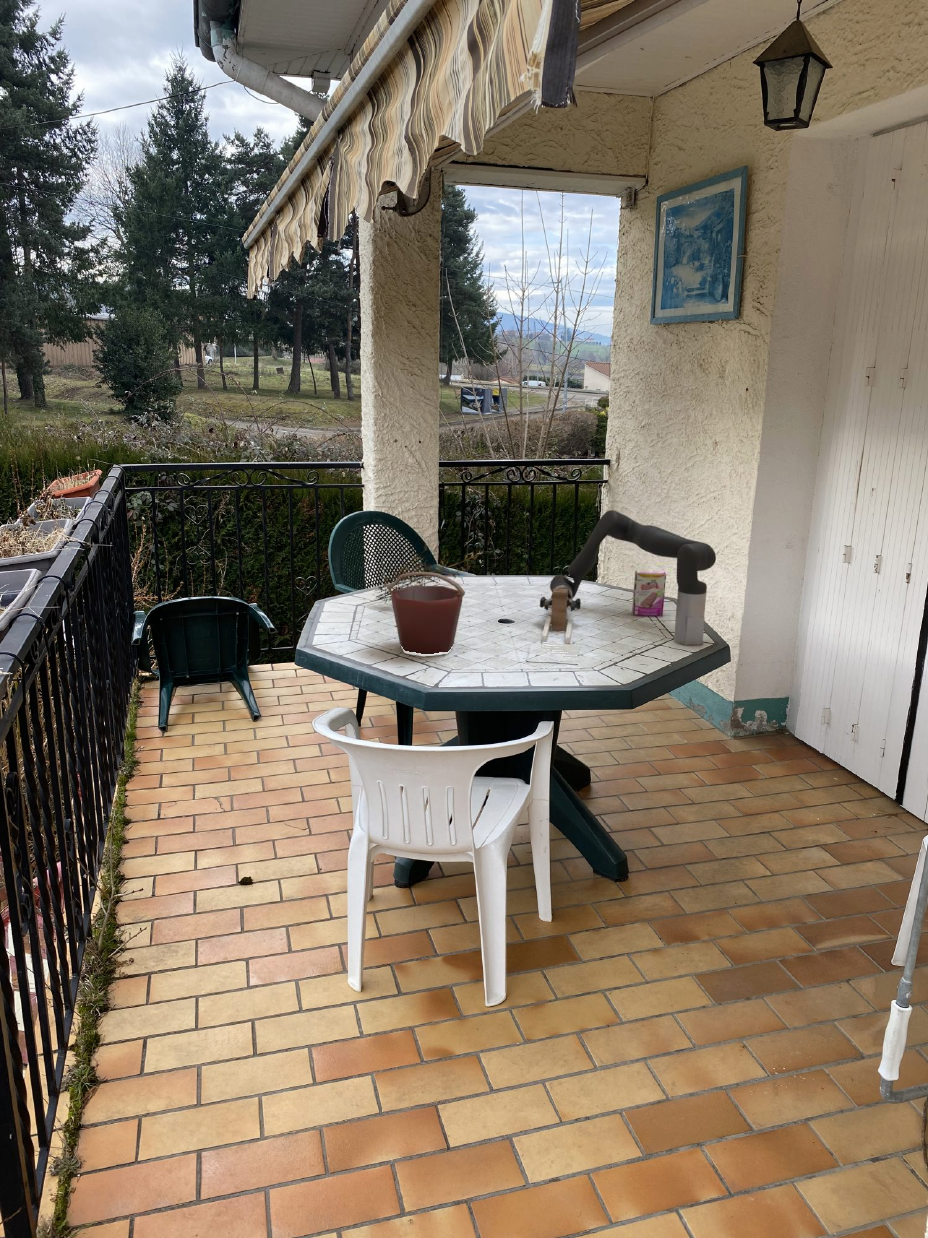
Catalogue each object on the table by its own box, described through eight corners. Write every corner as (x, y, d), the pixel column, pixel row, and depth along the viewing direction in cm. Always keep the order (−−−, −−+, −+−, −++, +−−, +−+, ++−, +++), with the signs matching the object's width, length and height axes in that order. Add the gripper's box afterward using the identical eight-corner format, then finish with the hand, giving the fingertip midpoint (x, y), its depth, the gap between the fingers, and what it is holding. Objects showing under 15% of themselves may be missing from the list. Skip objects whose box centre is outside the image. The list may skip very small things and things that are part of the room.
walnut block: (551, 627, 316) (553, 588, 312) (566, 628, 315) (567, 589, 311) (550, 631, 311) (552, 591, 307) (565, 631, 310) (567, 592, 307)
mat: (531, 643, 296) (531, 642, 296) (580, 646, 294) (580, 645, 294) (526, 661, 277) (526, 660, 277) (578, 664, 275) (578, 663, 274)
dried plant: (347, 567, 325) (457, 522, 310) (378, 558, 354) (480, 517, 340) (378, 645, 326) (489, 603, 312) (406, 630, 356) (509, 591, 341)
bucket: (376, 652, 284) (375, 575, 277) (408, 635, 303) (408, 563, 297) (446, 663, 274) (447, 583, 268) (475, 644, 294) (476, 570, 287)
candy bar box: (632, 616, 332) (635, 572, 328) (631, 612, 337) (634, 569, 333) (663, 617, 331) (666, 573, 327) (661, 613, 336) (665, 570, 332)
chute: (546, 623, 321) (546, 616, 320) (572, 624, 319) (572, 617, 319) (541, 643, 296) (542, 635, 296) (569, 644, 295) (570, 637, 294)
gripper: (542, 586, 325) (539, 596, 310) (581, 588, 323) (580, 598, 308) (541, 606, 327) (538, 617, 312) (581, 608, 325) (579, 619, 310)
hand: (559, 608), depth 310 cm, fingers open, 8 cm apart
